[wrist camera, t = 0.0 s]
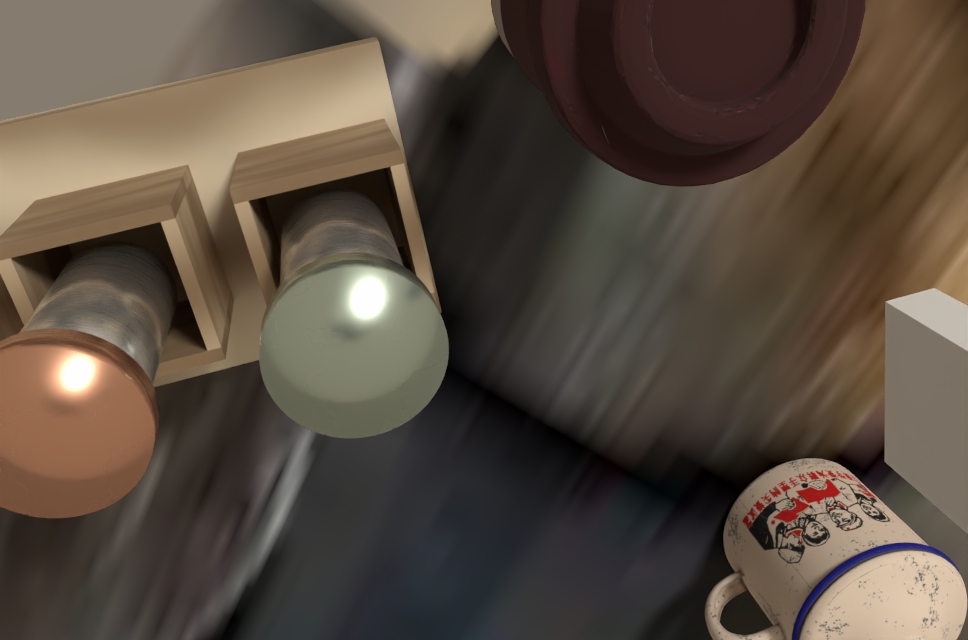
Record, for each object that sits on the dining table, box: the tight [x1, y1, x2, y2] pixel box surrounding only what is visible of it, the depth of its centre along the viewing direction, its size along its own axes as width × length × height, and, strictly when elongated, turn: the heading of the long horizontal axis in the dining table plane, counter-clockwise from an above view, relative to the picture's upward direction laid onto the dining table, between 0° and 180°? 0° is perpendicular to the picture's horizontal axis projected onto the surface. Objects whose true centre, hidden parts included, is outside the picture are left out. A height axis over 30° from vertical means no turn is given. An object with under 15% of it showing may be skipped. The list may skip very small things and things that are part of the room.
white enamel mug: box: [705, 458, 967, 640], centre depth 46 cm, size 12×9×12 cm
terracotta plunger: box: [0, 241, 177, 518], centre depth 27 cm, size 5×5×10 cm
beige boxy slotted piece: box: [0, 37, 442, 387], centre depth 34 cm, size 12×23×8 cm, turn 101°
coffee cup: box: [491, 0, 866, 186], centre depth 31 cm, size 10×10×15 cm
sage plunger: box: [259, 187, 449, 438], centre depth 28 cm, size 5×5×10 cm
